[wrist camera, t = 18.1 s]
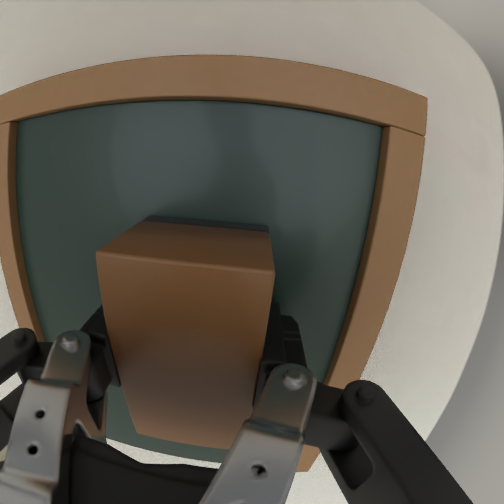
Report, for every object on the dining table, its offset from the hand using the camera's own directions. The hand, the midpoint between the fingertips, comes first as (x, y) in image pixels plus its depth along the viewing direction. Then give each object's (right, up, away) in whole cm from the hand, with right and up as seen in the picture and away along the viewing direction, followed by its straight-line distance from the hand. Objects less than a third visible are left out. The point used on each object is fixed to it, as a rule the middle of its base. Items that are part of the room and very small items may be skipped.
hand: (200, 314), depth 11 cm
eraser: (0, 0, +1) cm, 1 cm away
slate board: (-2, -2, +3) cm, 4 cm away
